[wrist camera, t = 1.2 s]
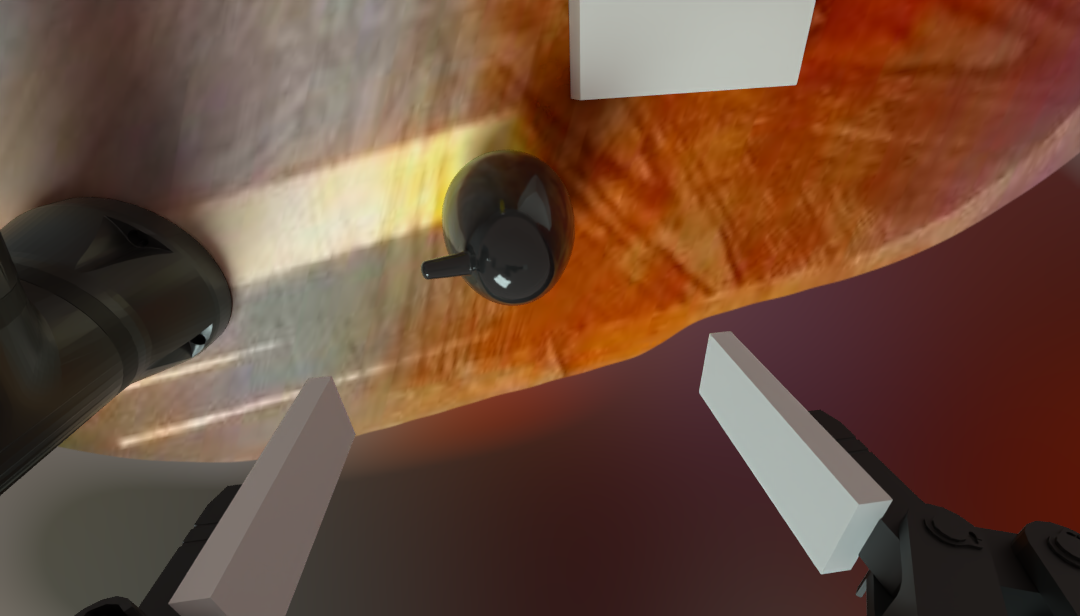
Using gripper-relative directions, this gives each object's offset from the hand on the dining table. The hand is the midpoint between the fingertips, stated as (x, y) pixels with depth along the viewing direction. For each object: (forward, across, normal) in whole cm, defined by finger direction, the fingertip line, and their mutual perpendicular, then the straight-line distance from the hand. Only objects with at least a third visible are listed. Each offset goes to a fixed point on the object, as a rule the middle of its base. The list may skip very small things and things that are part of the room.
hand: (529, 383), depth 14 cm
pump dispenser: (+24, 0, 0) cm, 24 cm away
